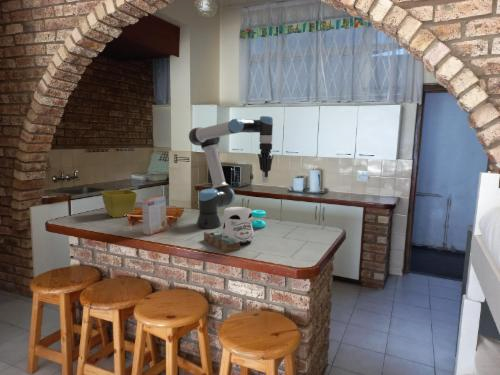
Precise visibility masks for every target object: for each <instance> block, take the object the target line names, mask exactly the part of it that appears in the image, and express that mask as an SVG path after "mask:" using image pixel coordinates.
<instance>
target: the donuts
mask: <svg viewBox="0 0 500 375" xmlns="http://www.w3.org/2000/svg"><path fill="white" fill-rule="evenodd" d="M266 215H267V213H266V211H265V210H261V209H255V210H252V218H256V219H254V220H252V228H253V229H262V228H265V227H266V225H267V222H265V221H264V220H261V219H262V218H265V217H266ZM257 218H261V219H257Z"/></svg>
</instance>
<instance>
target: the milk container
mask: <svg viewBox="0 0 500 375" xmlns="http://www.w3.org/2000/svg"><path fill="white" fill-rule="evenodd" d="M252 211H253V210H252V209H251V208H249V207H244V206H231V207H230V206H229V207H226V208H224V211H223V226H222V231H221V232H222V239H223V238H226V237H228V238H233V239H234V243H238V242H239V243H240V245H243V244H247V243H250V242H251V241H252V240H253V238H254V227H252V221H253V216H252Z"/></svg>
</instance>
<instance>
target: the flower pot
mask: <svg viewBox="0 0 500 375" xmlns="http://www.w3.org/2000/svg"><path fill="white" fill-rule="evenodd" d="M137 195H138V193H137V192H135V191H133V190H130V189H119V190H118V189H117V190H107V191H101V197H102V201H103V205H104V207H105V210H106V213H107V215H108V216H110V217H111V216H112V218H113V219H115V218H116V217H117V218H124V217H123V216H124V215H125V214H128V213H130V212H132V211H133V212H134V210H135V207H136V203H137V198H138V197H137ZM117 218H116V219H117Z"/></svg>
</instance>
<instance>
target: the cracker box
mask: <svg viewBox="0 0 500 375" xmlns="http://www.w3.org/2000/svg"><path fill="white" fill-rule="evenodd" d="M166 206H167V204H166V196H161V195H159V196H154V197H148V198H145V199H141V211H142V212H141V213H142V231H143V235H147V236H152V235H156V234H158V233H161V232H165V231H167V225H168V224H167V207H166Z"/></svg>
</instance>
